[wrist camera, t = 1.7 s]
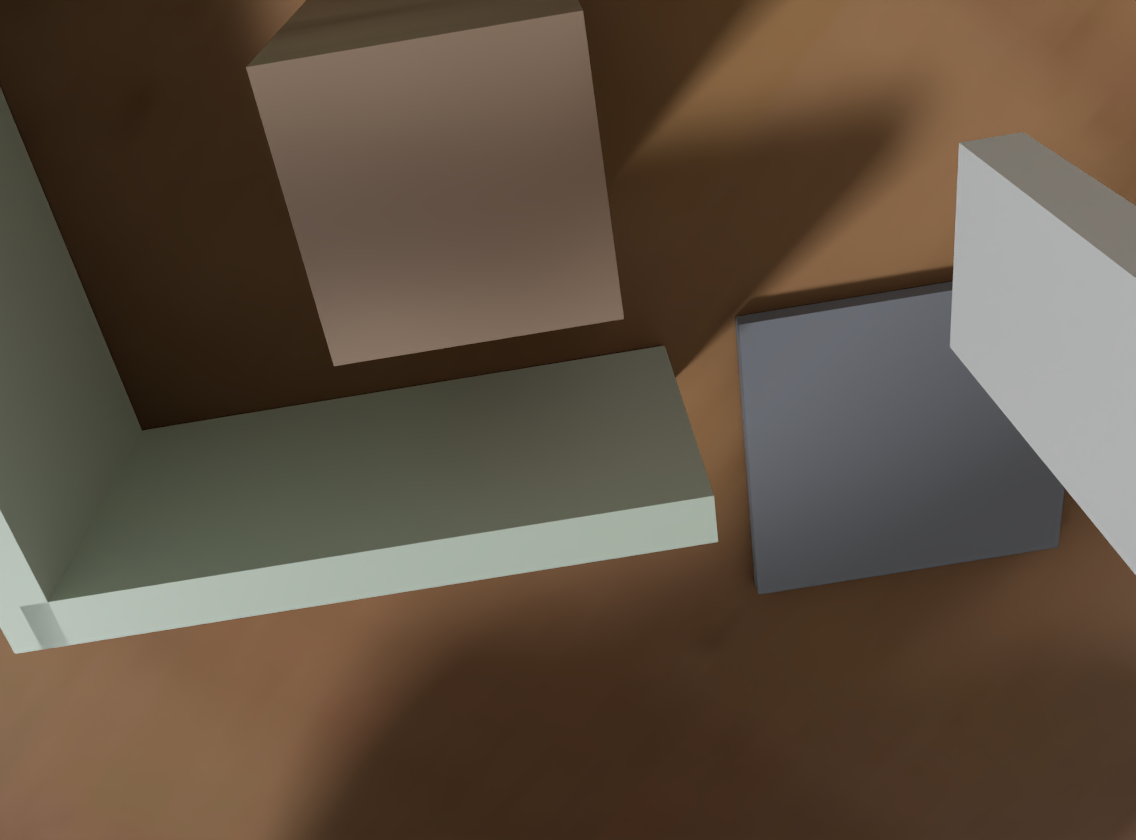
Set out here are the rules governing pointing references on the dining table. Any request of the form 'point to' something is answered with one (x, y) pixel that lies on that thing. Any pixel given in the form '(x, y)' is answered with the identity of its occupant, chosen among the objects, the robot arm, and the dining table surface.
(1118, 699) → the dining table surface
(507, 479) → the u-shaped panel enclosure
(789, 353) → the coaster
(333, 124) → the walnut block
